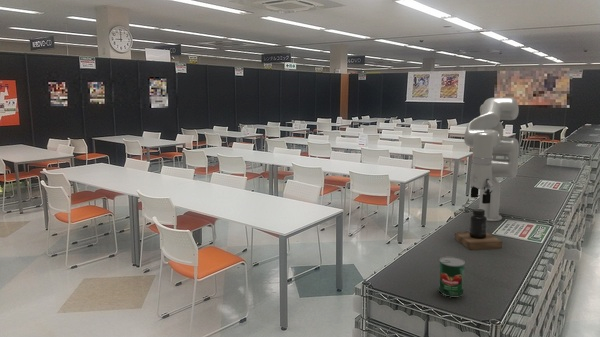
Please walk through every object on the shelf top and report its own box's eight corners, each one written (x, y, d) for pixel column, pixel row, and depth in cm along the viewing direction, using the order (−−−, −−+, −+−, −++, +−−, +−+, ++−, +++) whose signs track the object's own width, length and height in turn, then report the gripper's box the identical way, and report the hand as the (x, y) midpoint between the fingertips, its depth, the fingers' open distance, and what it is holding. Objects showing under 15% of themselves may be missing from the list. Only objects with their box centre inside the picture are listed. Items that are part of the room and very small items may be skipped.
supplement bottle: (483, 234, 185) (484, 207, 183) (488, 239, 178) (490, 212, 176) (467, 233, 186) (468, 207, 184) (471, 239, 179) (473, 212, 177)
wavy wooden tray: (454, 238, 188) (455, 232, 188) (484, 237, 190) (484, 231, 189) (470, 250, 175) (470, 243, 174) (501, 248, 176) (502, 241, 175)
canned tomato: (457, 286, 142) (459, 255, 140) (467, 297, 134) (469, 265, 132) (434, 287, 142) (435, 256, 140) (443, 298, 134) (444, 266, 132)
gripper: (463, 158, 184) (462, 195, 187) (484, 165, 167) (482, 206, 170) (479, 157, 185) (478, 194, 188) (502, 164, 168) (499, 205, 171)
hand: (480, 200), depth 179 cm, fingers open, 9 cm apart
